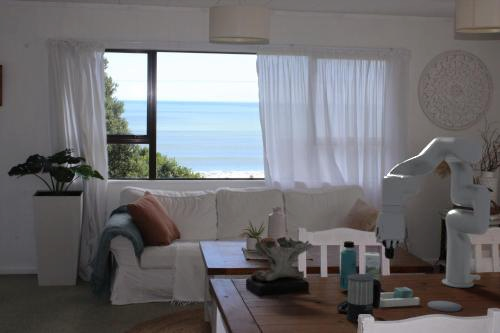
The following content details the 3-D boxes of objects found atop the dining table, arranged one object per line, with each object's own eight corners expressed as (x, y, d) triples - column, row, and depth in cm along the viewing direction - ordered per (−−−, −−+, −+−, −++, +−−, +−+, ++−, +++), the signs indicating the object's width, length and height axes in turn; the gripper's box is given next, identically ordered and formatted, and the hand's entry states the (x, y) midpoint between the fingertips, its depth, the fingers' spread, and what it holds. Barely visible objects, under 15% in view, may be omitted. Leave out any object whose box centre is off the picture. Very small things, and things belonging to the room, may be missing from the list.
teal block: (406, 300, 248) (406, 287, 248) (412, 303, 243) (412, 290, 243) (394, 300, 247) (394, 287, 246) (400, 304, 242) (400, 291, 242)
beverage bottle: (336, 292, 257) (338, 242, 256) (342, 288, 263) (343, 239, 262) (352, 294, 254) (354, 243, 253) (358, 290, 260) (359, 241, 259)
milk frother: (366, 325, 216) (367, 281, 215) (324, 316, 225) (325, 274, 224) (383, 315, 228) (384, 273, 227) (343, 307, 237) (344, 267, 236)
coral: (301, 282, 272) (302, 231, 270) (323, 295, 253) (325, 240, 251) (245, 287, 263) (246, 234, 261) (264, 300, 244) (265, 244, 242)
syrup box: (377, 287, 266) (378, 252, 265) (379, 290, 260) (380, 255, 259) (363, 286, 267) (364, 251, 266) (364, 290, 261) (365, 254, 260)
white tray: (406, 297, 251) (406, 291, 251) (419, 305, 241) (419, 298, 241) (369, 299, 247) (369, 293, 247) (380, 307, 237) (380, 300, 237)
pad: (450, 301, 246) (450, 300, 246) (468, 310, 235) (468, 309, 235) (421, 303, 243) (421, 301, 243) (438, 312, 232) (438, 310, 232)
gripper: (404, 208, 246) (402, 255, 247) (368, 208, 243) (366, 256, 244) (414, 210, 239) (412, 260, 240) (376, 210, 235) (374, 260, 237)
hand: (389, 258), depth 242 cm, fingers closed
